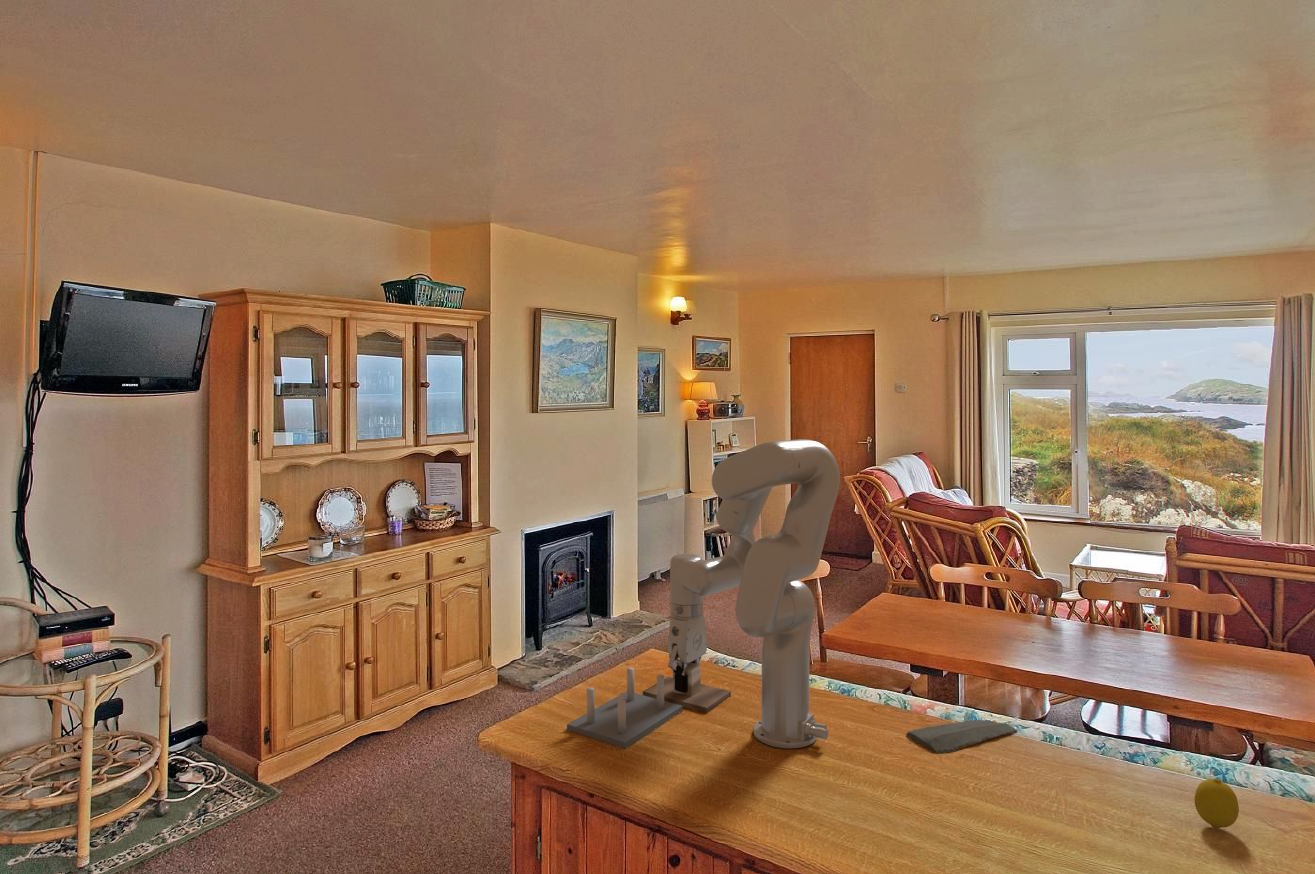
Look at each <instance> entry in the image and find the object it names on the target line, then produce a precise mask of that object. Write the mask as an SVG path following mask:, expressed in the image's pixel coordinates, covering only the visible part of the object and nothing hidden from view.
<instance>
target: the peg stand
mask: <svg viewBox="0 0 1315 874" xmlns="http://www.w3.org/2000/svg"><path fill="white" fill-rule="evenodd" d="M664 679H665V675H664V674H657V675H656V683H657V699H655V698H651V697H648V696H644V695H643V694H640V693H636V692H635V668H634V667H627V668H626V691H625V692H623V693H621V694H620V695H617V696H616V697H614V698H612V699H610V700H608V701H607V702H605V703H602V704H601V705H599V706H597V707H595V706H596V705H595V704H596V702H595V700H596V699H595V690H596V689H595V687H593V686H591V687H587V688H586V713H584V714H583V715H581V716H578V718H576V719H574V720H572V721H569V722H568V723H567V724H566V730H567V731H569V732H572V733H576V734H579V735H582V736H585V737H589V738H592V739H594V740H597V741H599V742H600V741H601V742H604V743H607V744H610V745H613V746H617V747H619V748H623V749H627V748H628V747H630V746H632V745H633V744H635V743H636V742H637V741H640V740H641V739H643V738H644V737H645V736H647V735H648V734H650V733H652V732H653V731H655V730H656V729H658V728H659V727H661V726H662V725H664V724H665V723H667V722H668V721H670V720H671V719H673V718H674V717H673V716H675V715H676V714H678V713H679V712H681V713H682V712H683V711H684V710H683V708H684V707H683V706H682V705H678V704H674V703H670V702H667V701H664ZM679 714H680V713H679ZM679 714H678V715H679ZM676 716H677V715H676ZM676 716H675V717H676ZM672 717H673V718H672ZM670 718H671V719H670ZM669 719H670V720H669ZM667 720H668V721H667ZM666 721H667V722H666ZM663 723H664V724H663ZM655 728H656V729H655ZM654 729H655V730H654ZM651 731H652V732H651Z"/></svg>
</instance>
